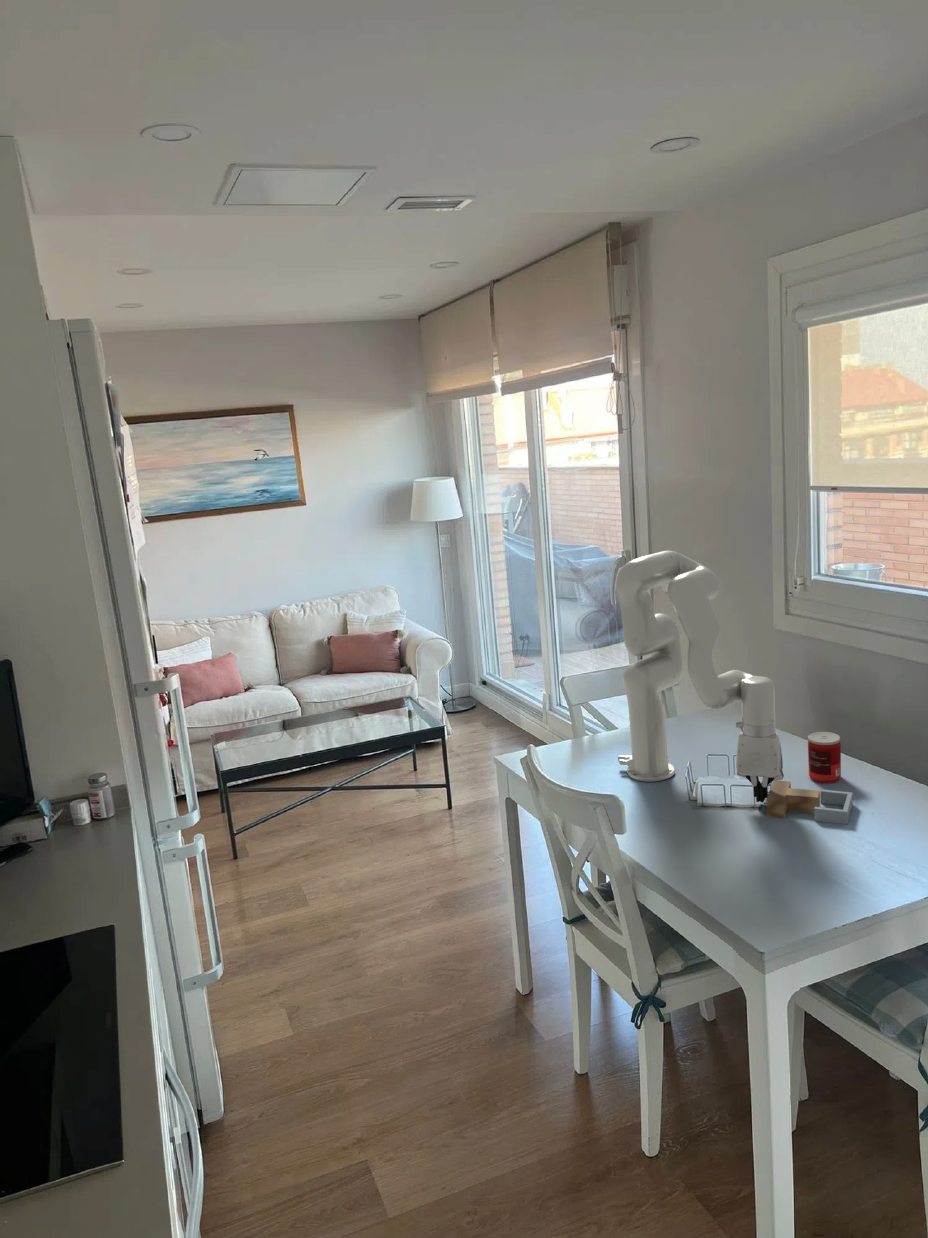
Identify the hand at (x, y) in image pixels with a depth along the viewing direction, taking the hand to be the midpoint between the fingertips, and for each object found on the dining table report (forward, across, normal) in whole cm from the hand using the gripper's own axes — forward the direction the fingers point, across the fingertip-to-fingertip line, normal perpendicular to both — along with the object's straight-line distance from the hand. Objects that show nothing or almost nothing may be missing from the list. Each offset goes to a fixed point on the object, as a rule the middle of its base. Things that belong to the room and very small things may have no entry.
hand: (760, 800), depth 217 cm
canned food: (+1, +12, +20) cm, 23 cm away
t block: (+1, +8, 0) cm, 8 cm away
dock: (+1, +16, 0) cm, 16 cm away
